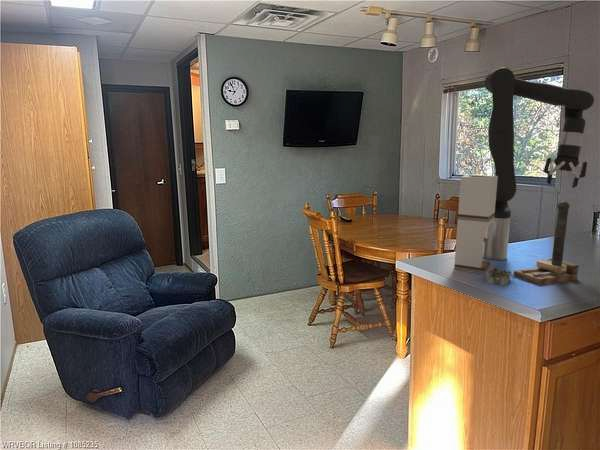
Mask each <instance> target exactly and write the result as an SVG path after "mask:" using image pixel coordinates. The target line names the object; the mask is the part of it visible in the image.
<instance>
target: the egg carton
mask: <svg viewBox="0 0 600 450" xmlns="http://www.w3.org/2000/svg"><path fill="white" fill-rule="evenodd" d="M511 272H512V271H511V270H507V271H506V269H502V268H498V267H494V266H491V265H490V267H489V268H488V270H487V271H486V272H485V275H486V282H487V283H489V284H498V285H501V286H505V285H509V281H510V279H511V278H510V277H511V276H512V273H511Z"/></svg>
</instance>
